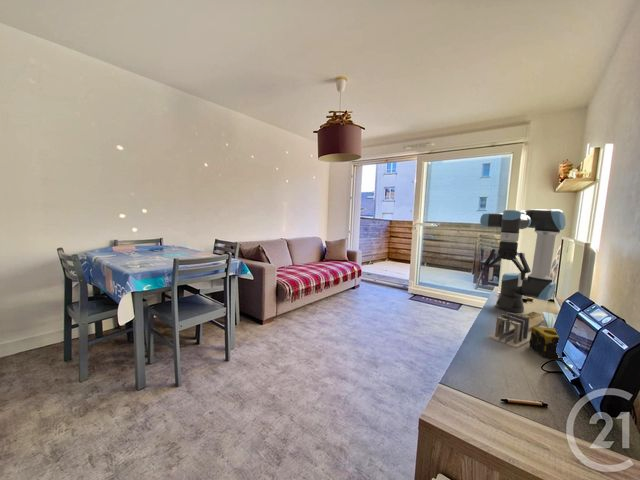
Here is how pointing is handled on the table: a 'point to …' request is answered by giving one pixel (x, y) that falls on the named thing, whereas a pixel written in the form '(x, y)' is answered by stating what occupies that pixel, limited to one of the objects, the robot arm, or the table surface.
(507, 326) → the collar
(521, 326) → the collar
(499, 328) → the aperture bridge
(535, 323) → the long golden plank
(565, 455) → the table surface
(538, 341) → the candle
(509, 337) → the long cream board
